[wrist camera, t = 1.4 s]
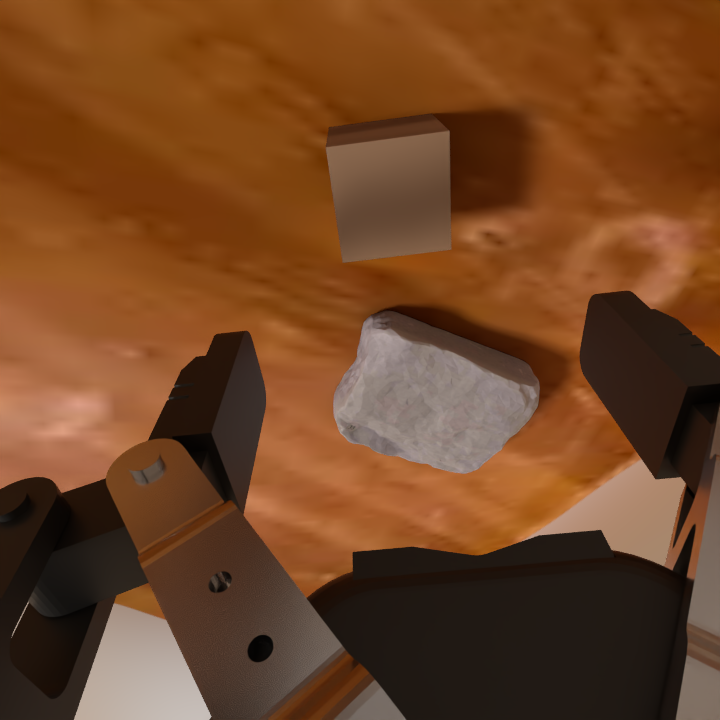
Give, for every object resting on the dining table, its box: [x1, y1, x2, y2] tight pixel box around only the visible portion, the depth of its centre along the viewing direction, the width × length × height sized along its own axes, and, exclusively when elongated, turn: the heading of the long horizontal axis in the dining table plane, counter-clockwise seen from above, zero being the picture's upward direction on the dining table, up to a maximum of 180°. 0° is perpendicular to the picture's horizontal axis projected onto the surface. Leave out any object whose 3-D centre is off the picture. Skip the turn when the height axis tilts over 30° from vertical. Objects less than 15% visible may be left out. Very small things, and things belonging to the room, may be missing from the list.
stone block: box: [333, 310, 540, 473], centre depth 32 cm, size 12×5×10 cm
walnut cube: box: [326, 114, 451, 263], centre depth 23 cm, size 5×5×5 cm
